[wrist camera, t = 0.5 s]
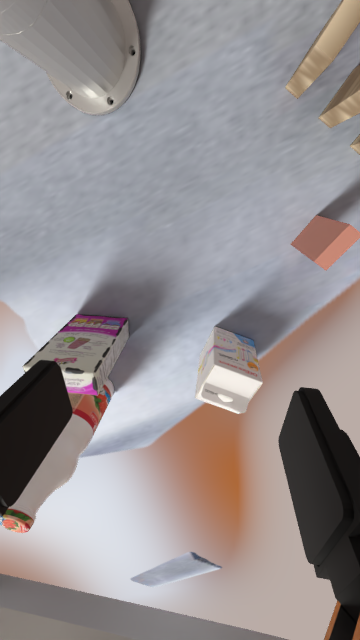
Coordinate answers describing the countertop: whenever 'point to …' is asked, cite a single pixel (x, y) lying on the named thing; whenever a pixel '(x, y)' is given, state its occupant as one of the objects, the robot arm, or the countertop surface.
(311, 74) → the domino
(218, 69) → the countertop surface
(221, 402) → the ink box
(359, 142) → the domino
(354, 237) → the domino
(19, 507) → the fruit juice
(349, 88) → the domino
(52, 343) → the candy bar box
